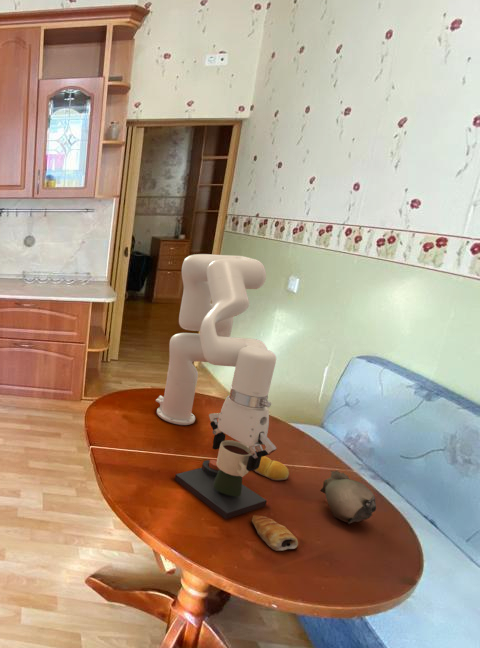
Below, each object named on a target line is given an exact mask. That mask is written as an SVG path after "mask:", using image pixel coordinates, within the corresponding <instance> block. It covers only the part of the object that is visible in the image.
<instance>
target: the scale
mask: <svg viewBox="0 0 480 648" xmlns="http://www.w3.org/2000/svg"><path fill="white" fill-rule="evenodd" d="M210 460H211V459H207V460H203V462H202V465H201V467H199V468H194V469H191V470H187V471H183V472H179V473H175V476H174V481H175V482H177V483H178V484H179V485H180V486H182V487H183V488H184V489H185V490H187V491H188V492H190V493H191V494H192V495H193V496H195V497H196V498H197V499H199V500H200V501H201V502H202V503H204V504H205V505H207V507H210V509H212V511H214V512H216V514H218V515H220V516H221V517H222V518H223V519H225V520H228V519H231V518H234V517H237V516H240V515H244V514H247V513H249V512H253V511H256V510H258V509H261V508H265V507H266V505H267V502H268V500H267V499H266V498H264V497H262V496H261V495H259V494H258V493H257V492H255V491H254V490H252V489H250V488H249V487H248V486H246V485H245V484H243V483H242V489H241V495H240V496H238V497H237V496H230V495H226V494H224V493H221V492H219V491H218V490H216V489H215V487H214V481H215V479H216V476H217V474H218V471H219V470H214V469H211V468H210V467H209V461H210Z"/></svg>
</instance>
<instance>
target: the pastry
mask: <svg viewBox="0 0 480 648" xmlns="http://www.w3.org/2000/svg"><path fill="white" fill-rule="evenodd" d="M251 522H252V524H253V526H254V528H255V530H256V532H257V535H258V536H259V537H260V538H261V540H262V541H264V542H265V544H266V545H267V546H268V547H269V548H271V549H272V550H274V551H275V552H276V551H277V552H281V551H286V550H294V549H296V548H297V547H298V546H299V541H298V538H297V537H296V536H295V535H294V534H293V533H292V532H291V531H290V529H288V528H287V527H286V526H285V525H283V524H280V523H279V522H277V521H275V520H274V519H272V518H270V517H268V516H265V515H256V514H254V515H253V516H252V518H251Z"/></svg>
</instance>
